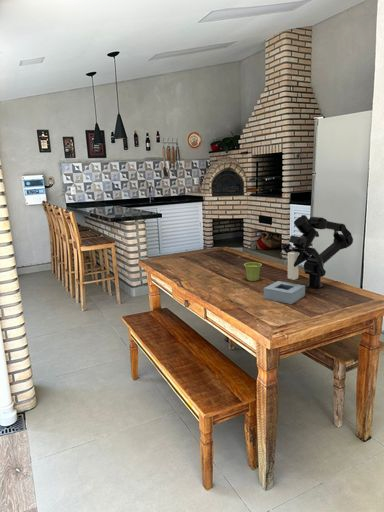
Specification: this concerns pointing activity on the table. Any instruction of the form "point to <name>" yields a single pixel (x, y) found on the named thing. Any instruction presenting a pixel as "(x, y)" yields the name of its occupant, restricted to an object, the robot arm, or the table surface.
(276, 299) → the grey thick square frame
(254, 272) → the plant pot
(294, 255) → the post
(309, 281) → the robot arm
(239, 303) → the table surface
